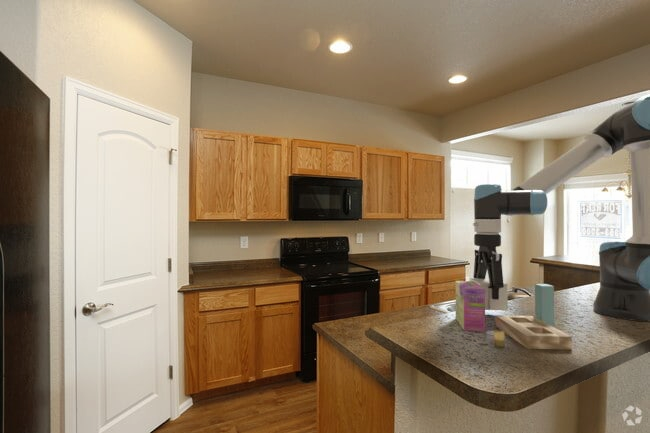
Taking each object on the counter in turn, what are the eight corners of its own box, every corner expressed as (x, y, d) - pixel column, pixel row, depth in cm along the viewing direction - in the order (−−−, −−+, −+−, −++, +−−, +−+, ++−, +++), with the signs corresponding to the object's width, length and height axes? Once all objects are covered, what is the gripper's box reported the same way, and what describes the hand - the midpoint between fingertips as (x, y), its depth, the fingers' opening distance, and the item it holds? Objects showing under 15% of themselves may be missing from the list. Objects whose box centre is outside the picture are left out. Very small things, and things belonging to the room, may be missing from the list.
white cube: (495, 303, 103) (494, 278, 103) (507, 310, 95) (507, 283, 95) (469, 302, 104) (469, 278, 104) (480, 309, 96) (480, 283, 96)
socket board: (531, 326, 90) (531, 315, 90) (571, 349, 74) (571, 336, 74) (495, 325, 91) (495, 315, 91) (527, 348, 75) (527, 335, 75)
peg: (546, 325, 90) (546, 283, 90) (554, 329, 87) (553, 286, 87) (535, 325, 90) (534, 283, 91) (542, 329, 87) (541, 286, 87)
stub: (502, 344, 77) (501, 330, 77) (507, 348, 75) (506, 333, 75) (491, 344, 77) (491, 330, 77) (496, 348, 75) (496, 333, 75)
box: (486, 332, 86) (485, 288, 86) (463, 330, 87) (463, 287, 87) (475, 319, 96) (474, 281, 96) (455, 319, 97) (455, 280, 97)
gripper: (462, 232, 110) (462, 297, 110) (490, 235, 89) (490, 315, 89) (484, 232, 110) (484, 297, 110) (517, 235, 89) (517, 316, 89)
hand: (487, 305), depth 100 cm, fingers closed on white cube, 8 cm apart
